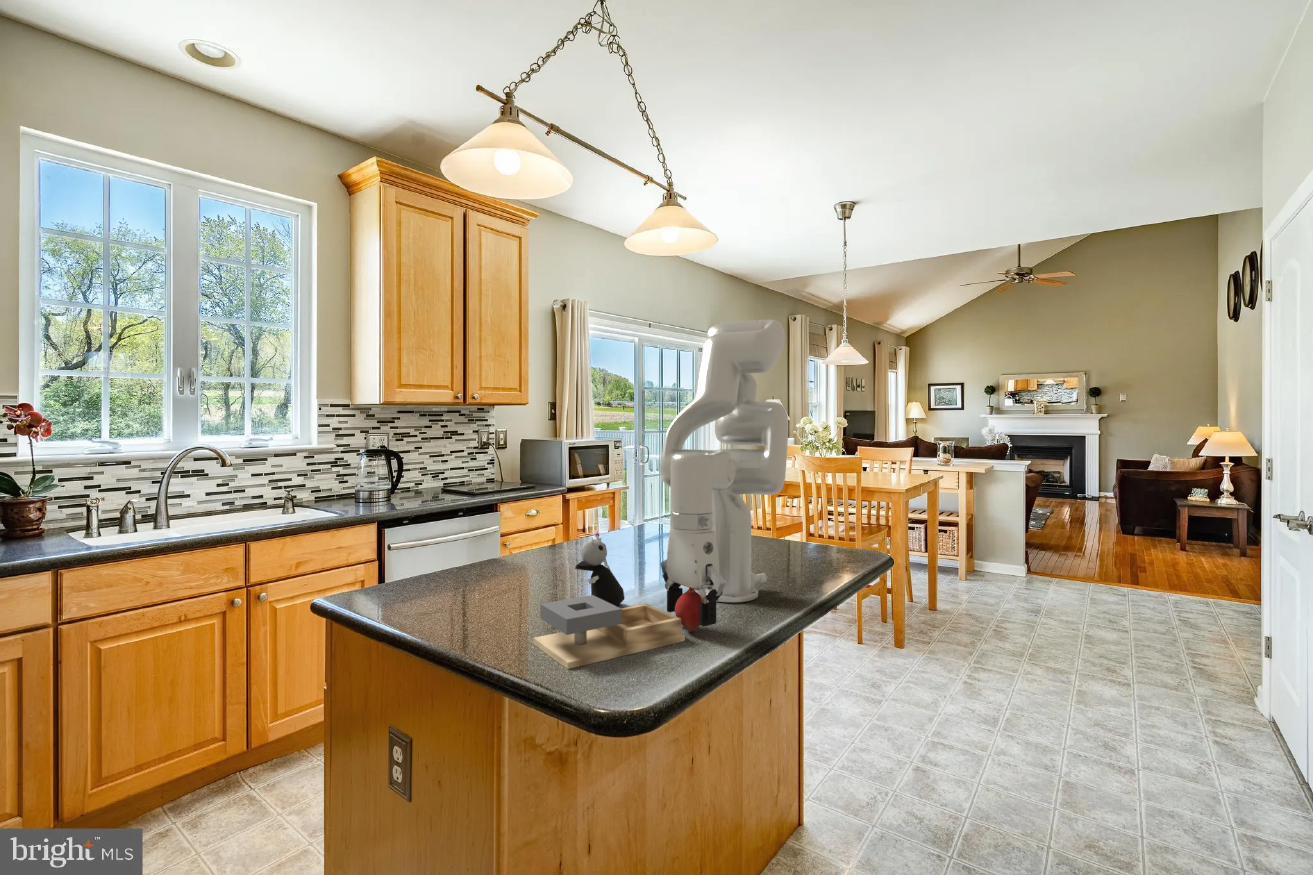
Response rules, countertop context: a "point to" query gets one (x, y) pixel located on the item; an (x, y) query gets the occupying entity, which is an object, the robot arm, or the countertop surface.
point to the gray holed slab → (580, 614)
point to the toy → (600, 572)
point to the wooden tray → (614, 637)
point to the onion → (689, 609)
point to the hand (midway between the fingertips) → (690, 617)
